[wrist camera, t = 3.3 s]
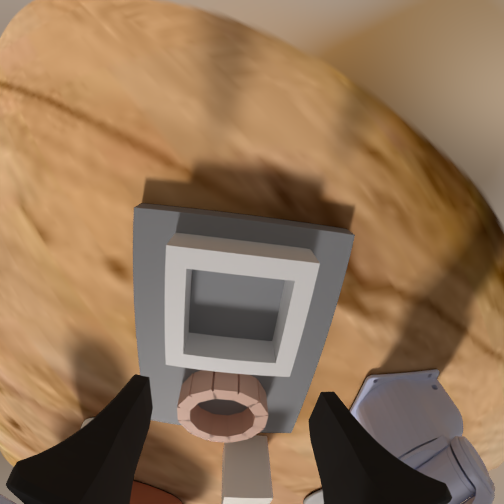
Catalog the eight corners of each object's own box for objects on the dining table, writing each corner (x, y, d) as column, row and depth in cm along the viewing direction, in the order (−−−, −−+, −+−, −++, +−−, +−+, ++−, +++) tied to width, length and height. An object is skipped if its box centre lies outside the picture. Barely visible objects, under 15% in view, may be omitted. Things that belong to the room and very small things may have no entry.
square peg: (266, 435, 27) (273, 498, 19) (260, 455, 28) (264, 511, 21) (225, 433, 27) (224, 497, 19) (222, 453, 28) (221, 510, 20)
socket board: (347, 229, 20) (370, 247, 16) (289, 421, 26) (294, 452, 22) (141, 203, 18) (118, 216, 15) (150, 408, 25) (141, 438, 21)
